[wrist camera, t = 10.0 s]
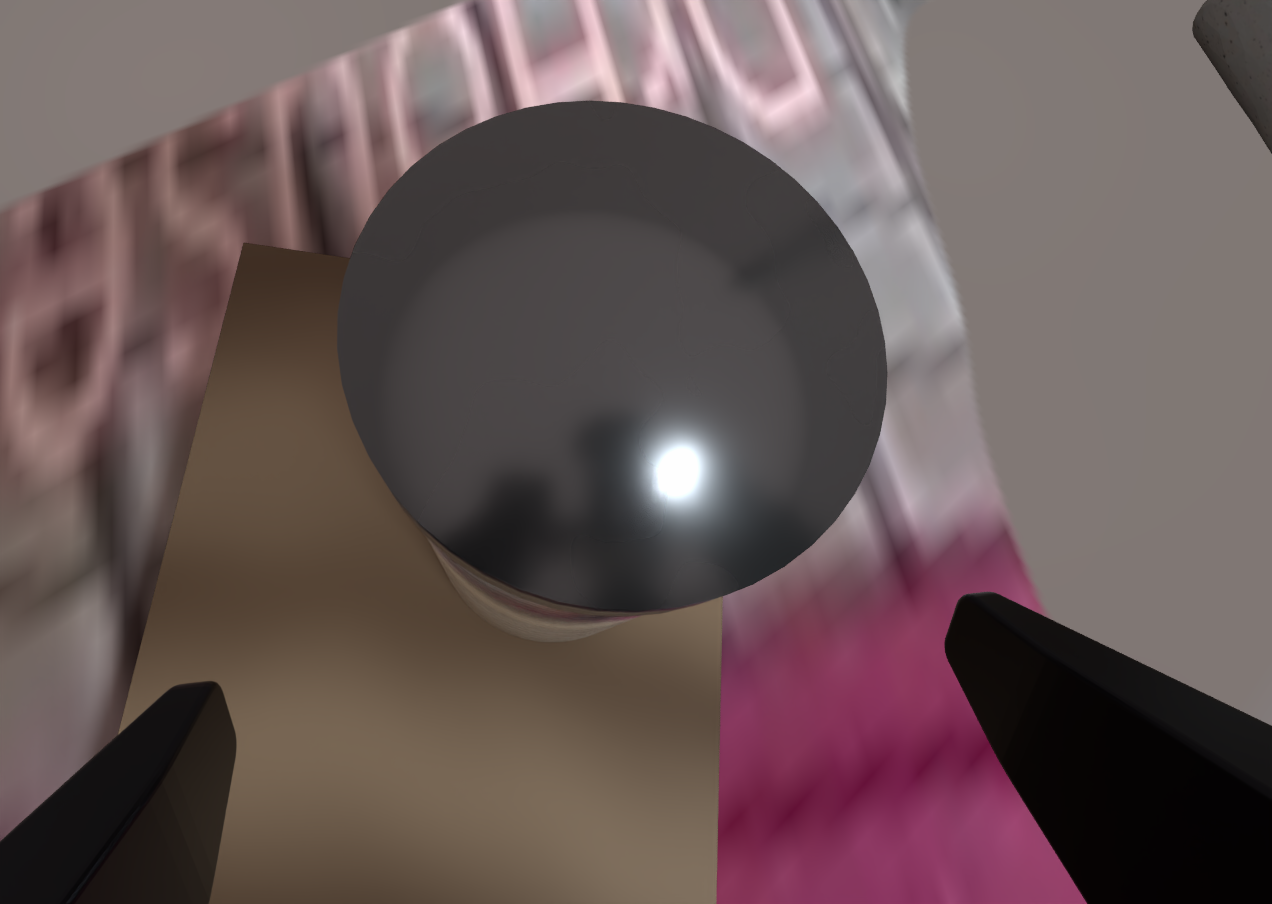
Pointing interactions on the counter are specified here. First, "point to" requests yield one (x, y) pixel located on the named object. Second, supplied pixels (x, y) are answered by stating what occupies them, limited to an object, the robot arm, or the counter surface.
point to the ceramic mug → (1241, 54)
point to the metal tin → (608, 364)
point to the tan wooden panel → (405, 667)
